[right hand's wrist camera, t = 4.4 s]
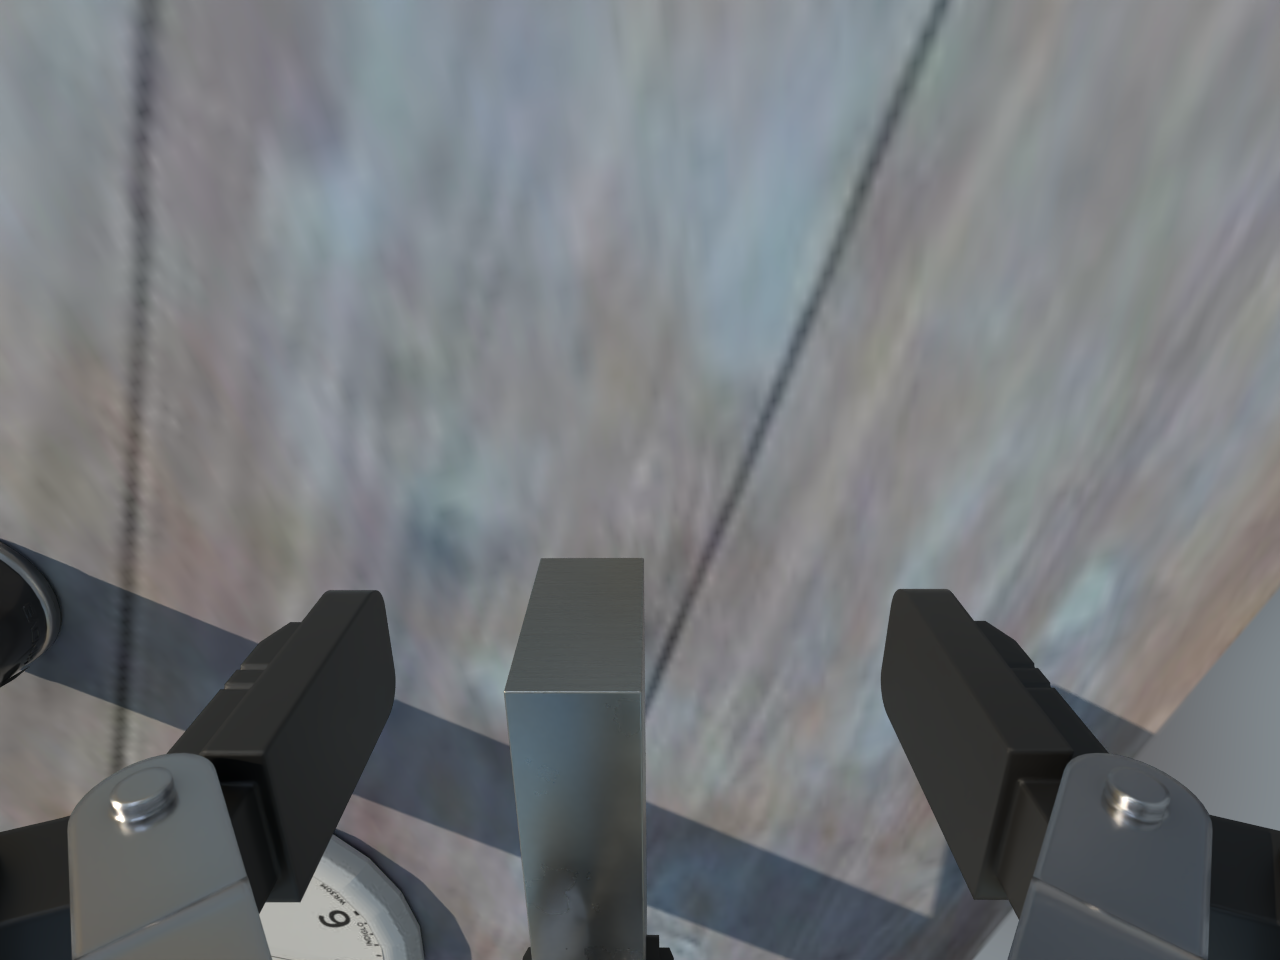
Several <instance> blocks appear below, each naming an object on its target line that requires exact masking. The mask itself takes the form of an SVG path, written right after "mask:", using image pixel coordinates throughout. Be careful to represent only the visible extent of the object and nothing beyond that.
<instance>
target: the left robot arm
mask: <svg viewBox="0 0 1280 960" xmlns="http://www.w3.org/2000/svg"><path fill="white" fill-rule="evenodd" d="M60 625H61V614H60V608H59V604H58V601H57V598H56V596H55V594H54V592H53V590H52V588H51V586H50V585H49V583H48V582H47V580H46V579H45V578H44V576H43V575H42V574H41V573H40V571H39V570H38V569H37V568H36V567H35V566H34V565H33V564H32V563H31V562H29V561H28V560H27V559H26V558H25V557H23V556H22V555H21V554H19V553H18V552H17V551H15V550H13V549H12V548H10V547H9V546H7V545H5V544H3V543H1V542H0V687H2V686H3V685H5V684H7V683H9V682H10V681H12V680H14V679H15V678H16V677H17V676H19V675H20V674H21V673H22V672H24V671H25V670H26V669H27V668H26V669H24V670H23V671H21V672H19V673H17V674H16V675H14V674H15V673H16V672H17V671H19V670H20V669H21V668H22V667H24V666H26V665H28V664H29V663H31V662H32V661H34V660H35V659H36V658H38V657H39V656H40V655H41V654H43V653H44V652H45V651H46V650H48V649H49V648H50V647H51V645H52V644H53V643H54V641H55V640H56V638H57V636H58V633H59V630H60ZM29 667H30V666H29ZM29 667H28V668H29ZM12 675H14V676H12ZM11 676H12V677H11ZM10 677H11V678H10ZM523 960H532V954H531V947H529V948H528V949H527V951H526V953H525V955H524V957H523ZM646 960H674V958H673V955H672V953H671V951H670V948H659V935H646Z"/></svg>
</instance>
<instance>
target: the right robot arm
mask: <svg viewBox="0 0 1280 960" xmlns="http://www.w3.org/2000/svg"><path fill="white" fill-rule="evenodd" d="M881 691H882V698H883V703H884V707H885V710H886V713H887V715H888V717H889V720H890V722H891V724H892V726H893V728H894V730H895V732H896V734H897V737H898V739H899V741H900V743H901V745H902V747H903V749H904V751H905V754H906V756H907V758H908V760H909V762H910V764H911V766H912V768H913V771H914V773H915V775H916V777H917V779H918V781H919V783H920V786H921V788H922V790H923V792H924V794H925V796H926V798H927V800H928V803H929V805H930V807H931V809H932V811H933V813H934V815H935V817H936V820H937V822H938V824H939V826H940V828H941V830H942V832H943V835H944V837H945V839H946V841H947V843H948V845H949V847H950V849H951V852H952V854H953V856H954V858H955V860H956V862H957V864H958V866H959V869H960V871H961V873H962V875H963V877H964V879H965V881H966V884H967V886H968V888H969V890H970V892H971V894H972V896H973V898H974V900H1009V901H1010V903H1011V905H1012V907H1013V909H1014V911H1015V913H1016V915H1017V917H1018V919H1019V923H1018V926H1017V930H1016V933H1015V936H1014V940H1013V943H1012V946H1011V950H1010V953H1009V957H1008V960H1280V831H1277V830H1273V829H1269V828H1264V827H1260V826H1256V825H1251V824H1247V823H1243V822H1238V821H1234V820H1229V819H1225V818H1221V817H1216V816H1212V815H1209V814H1208V812H1207V810H1206V809H1205V807H1204V806H1203V804H1202V803H1201V802H1200V801H1199V799H1198V798H1197V797H1196V796H1195V795H1194V794H1193V793H1192V792H1191V791H1190V790H1189V789H1187V788H1186V787H1185V786H1184V785H1182V784H1181V783H1180V782H1178V781H1177V780H1176V779H1174V778H1172V777H1171V776H1169V775H1168V774H1166V773H1164V772H1162V771H1160V770H1158V769H1157V768H1155V767H1153V766H1150V765H1148V764H1146V763H1143V762H1141V761H1138V760H1135V759H1132V758H1129V757H1124V756H1120V755H1115V754H1109V753H1108V752H1107V751H1106V749H1105V748H1104V747H1103V746H1102V745H1101V743H1100V742H1099V741H1098V740H1097V739H1096V737H1095V736H1094V735H1093V734H1092V733H1091V731H1090V730H1089V729H1088V728H1087V727H1086V725H1085V724H1084V723H1083V722H1082V721H1081V719H1080V718H1079V717H1078V716H1077V714H1076V713H1075V712H1074V711H1073V710H1072V708H1071V707H1070V706H1069V705H1068V704H1067V702H1066V701H1065V700H1064V699H1063V698H1062V696H1061V695H1060V694H1059V693H1058V692H1057V690H1056V689H1055V688H1051V687H1050V682H1049V681H1048V680H1047V678H1046V677H1045V676H1044V675H1043V673H1042V672H1041V671H1040V670H1039V669H1038V668H1035V667H1034V663H1033V661H1032V660H1031V659H1030V658H1029V657H1028V655H1027V654H1026V653H1025V652H1024V651H1023V649H1022V648H1021V647H1020V646H1019V645H1018V643H1017V642H1016V641H1015V640H1014V639H1012V638H1011V637H1009V636H1007V635H1006V634H1004V633H1003V632H1001V631H1000V630H998V629H997V628H995V627H994V626H992V625H991V624H989V623H988V622H986V621H974V620H973V619H972V618H971V616H970V615H969V614H968V613H967V611H966V610H965V609H964V607H963V606H962V605H961V603H960V602H959V601H958V600H957V598H956V597H955V596H954V594H953V593H952V592H951V591H950V590H948V589H898V590H897V591H896V592H895V594H894V596H893V599H892V603H891V610H890V616H889V623H888V630H887V636H886V643H885V650H884V657H883V663H882V670H881ZM394 695H395V669H394V663H393V656H392V649H391V643H390V636H389V630H388V623H387V616H386V610H385V604H384V600H383V597H382V595H381V593H380V592H379V591H377V590H329V591H327V592H325V593H324V594H323V595H322V597H321V598H320V599H319V600H318V602H317V603H316V604H315V606H314V607H313V608H312V609H311V611H310V612H309V613H308V615H307V616H306V617H305V618H304V620H303V621H302V622H290V623H288V624H287V625H285V626H284V627H282V628H281V629H279V630H278V631H276V632H275V633H273V634H272V635H270V636H269V637H267V638H266V639H264V640H263V641H261V642H260V643H259V644H258V645H257V646H256V648H255V649H254V650H253V651H252V652H251V654H250V655H249V656H248V657H247V658H246V660H245V661H244V662H243V663H242V664H241V669H240V670H236V672H235V673H234V674H233V675H232V676H231V677H230V679H229V680H228V681H227V682H226V683H225V688H224V689H220V691H219V692H218V693H217V694H216V695H215V697H214V698H213V699H212V700H211V701H210V703H209V704H208V705H207V706H206V707H205V709H204V710H203V711H202V712H201V713H200V715H199V716H198V717H197V718H196V719H195V721H194V722H193V723H192V724H191V725H190V726H189V728H188V729H187V730H186V731H185V732H184V734H183V735H182V736H181V737H180V738H179V740H178V741H177V742H176V743H175V744H174V746H173V747H172V748H171V749H170V750H169V752H168V753H167V754H165V755H160V756H156V757H151V758H148V759H145V760H142V761H139V762H137V763H134V764H132V765H130V766H127V767H125V768H123V769H121V770H119V771H118V772H116V773H114V774H112V775H111V776H109V777H108V778H106V779H104V780H103V781H102V782H100V783H99V784H98V785H96V786H95V787H94V788H93V789H91V790H90V791H89V792H88V793H87V794H86V795H85V796H84V797H83V798H82V799H81V801H80V802H79V803H78V804H77V805H76V807H75V809H74V810H73V812H72V814H71V816H67V817H64V818H60V819H55V820H51V821H47V822H42V823H38V824H34V825H29V826H25V827H21V828H16V829H12V830H8V831H3V832H0V960H272V957H271V953H270V950H269V946H268V943H267V940H266V936H265V933H264V929H263V926H262V923H261V919H260V916H259V914H260V912H261V910H262V908H263V906H264V905H265V903H266V902H301V900H302V898H303V896H304V894H305V892H306V890H307V888H308V886H309V883H310V881H311V879H312V877H313V875H314V873H315V871H316V869H317V867H318V865H319V862H320V860H321V858H322V856H323V854H324V852H325V850H326V848H327V846H328V844H329V841H330V839H331V837H332V835H333V833H334V831H335V829H336V827H337V825H338V822H339V820H340V818H341V816H342V814H343V812H344V810H345V808H346V806H347V804H348V801H349V799H350V797H351V795H352V793H353V791H354V789H355V787H356V785H357V782H358V780H359V778H360V776H361V774H362V772H363V770H364V768H365V766H366V764H367V761H368V759H369V757H370V755H371V753H372V751H373V749H374V747H375V745H376V743H377V740H378V738H379V736H380V734H381V732H382V730H383V728H384V726H385V724H386V721H387V719H388V717H389V715H390V713H391V709H392V706H393V701H394Z"/></svg>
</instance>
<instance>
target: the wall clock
mask: <svg viewBox="0 0 1280 960" xmlns="http://www.w3.org/2000/svg"><path fill="white" fill-rule="evenodd" d="M259 916H260V919H261V923H262V926H263V929H264V933H265V936H266V940H267V943H268V946H269V950H270V953H271V957H272V960H424V953H423V946H422V938H421V931H420V926H419V924H418V922H417V920H416V918H415V917H414V915H413V913H412V911H411V909H410V907H409V905H408V903H407V901H406V900H405V898H404V896H403V894H402V892H401V891H400V890H399V889H398V888H397V887H396V886H395V885H394V884H393V883H392V881H391V880H390V879H389V878H388V877H387V876H386V875H385V874H384V873H383V872H382V871H381V870H380V869H379V868H378V867H377V866H376V865H375V864H374V863H373V862H372V861H371V860H370V859H369V858H368V857H367V856H365V855H363V854H362V853H360V852H359V851H357V850H356V849H354V848H353V847H351V846H350V845H348V844H347V843H345V842H344V841H342V840H341V839H339V838H338V837H336V836H335V835H332V837H331V839H330V841H329V844H328V846H327V848H326V850H325V852H324V854H323V856H322V858H321V860H320V862H319V865H318V867H317V869H316V871H315V873H314V875H313V877H312V879H311V881H310V883H309V886H308V888H307V890H306V892H305V894H304V896H303V898H302V900H301V902H266V903H265V905H264V906H263V908H262V910H261V912H260V914H259Z"/></svg>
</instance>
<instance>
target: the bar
mask: <svg viewBox="0 0 1280 960" xmlns="http://www.w3.org/2000/svg"><path fill="white" fill-rule="evenodd" d="M504 697H505V707H506V716H507V726H508V735H509V745H510V754H511V764H512V773H513V783H514V793H515V802H516V812H517V821H518V831H519V840H520V850H521V859H522V869H523V878H524V888H525V897H526V907H527V916H528V926H529V935H530V945H531V954H532V960H646V935H647V865H646V753H645V640H644V559H643V558H541V560H540V563H539V567H538V571H537V574H536V578H535V582H534V585H533V589H532V592H531V596H530V600H529V603H528V607H527V611H526V614H525V618H524V621H523V625H522V629H521V632H520V636H519V640H518V643H517V647H516V650H515V654H514V658H513V661H512V665H511V669H510V672H509V676H508V680H507V683H506V687H505V690H504Z"/></svg>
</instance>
